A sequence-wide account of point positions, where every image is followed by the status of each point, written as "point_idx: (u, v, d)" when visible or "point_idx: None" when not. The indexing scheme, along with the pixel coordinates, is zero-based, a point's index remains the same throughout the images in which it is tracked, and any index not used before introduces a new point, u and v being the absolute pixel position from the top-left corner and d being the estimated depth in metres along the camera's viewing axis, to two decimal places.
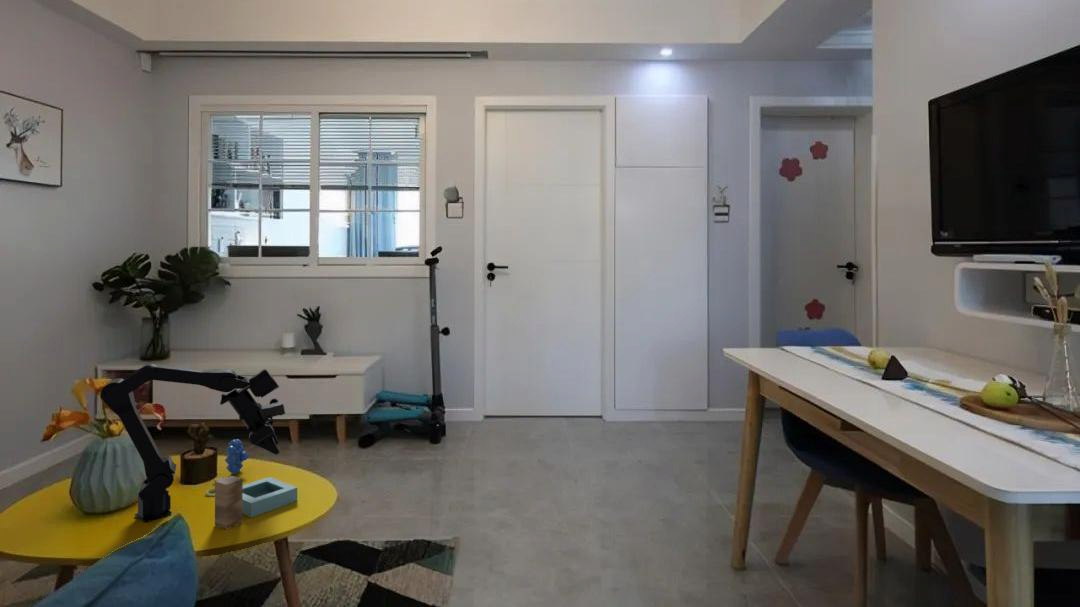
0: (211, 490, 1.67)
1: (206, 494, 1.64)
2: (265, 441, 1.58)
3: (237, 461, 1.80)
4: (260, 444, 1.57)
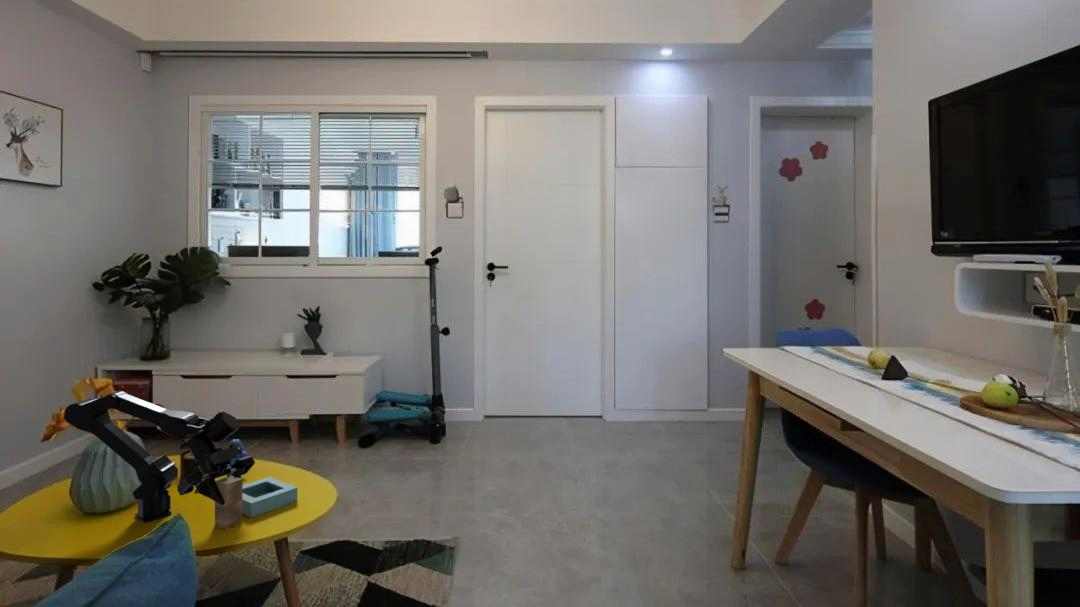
0: None
1: None
2: (208, 489, 1.44)
3: None
4: (203, 492, 1.44)
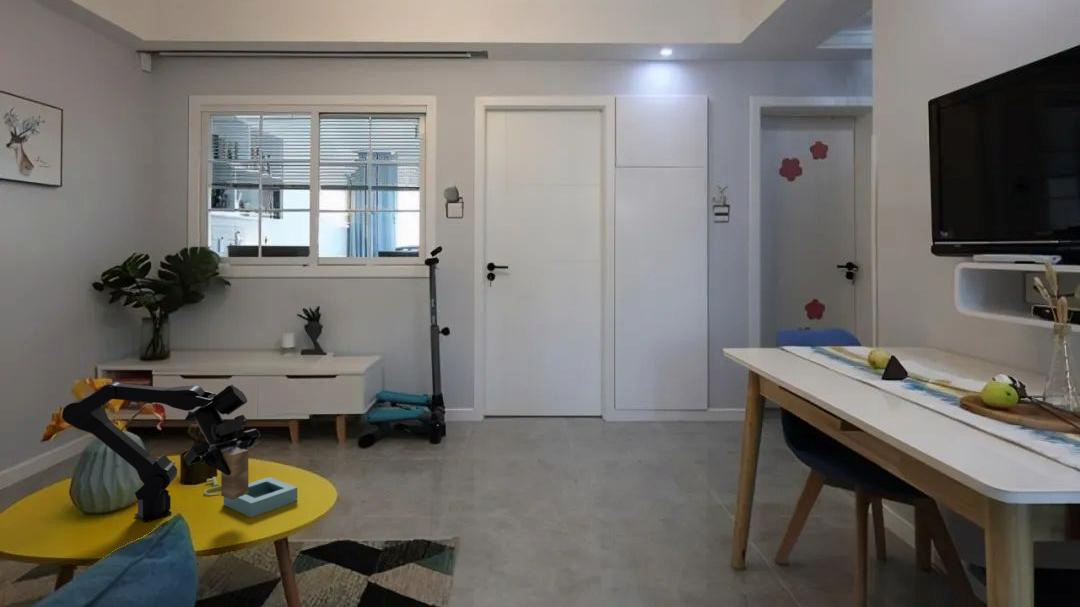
0: (208, 490, 1.67)
1: (205, 494, 1.65)
2: (215, 460, 1.46)
3: None
4: (210, 463, 1.46)
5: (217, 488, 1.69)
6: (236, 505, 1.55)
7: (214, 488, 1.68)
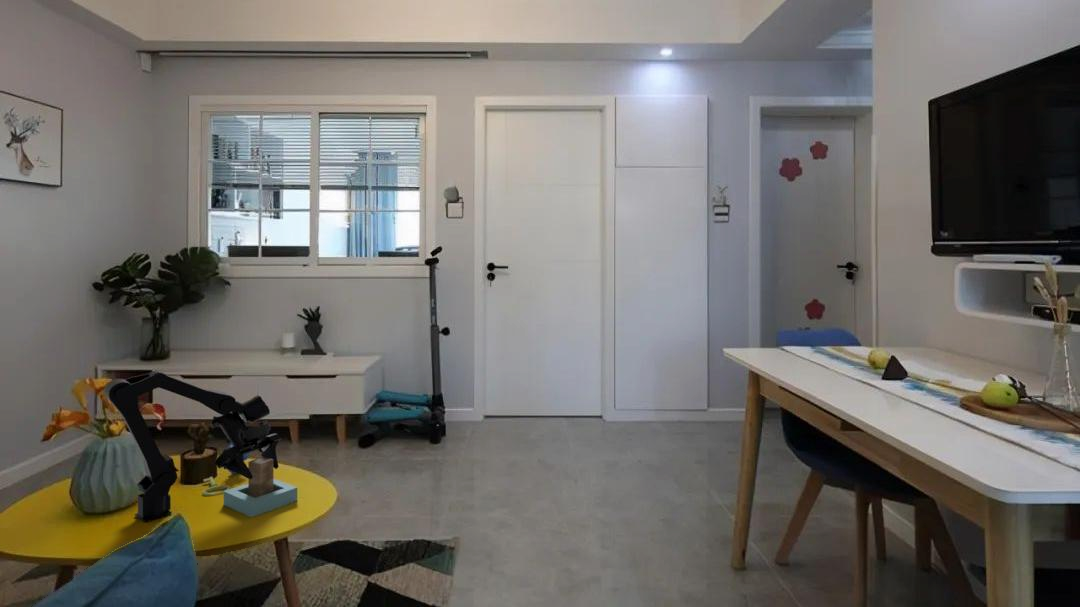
0: (207, 490, 1.67)
1: (204, 494, 1.65)
2: (236, 465, 1.56)
3: None
4: (231, 468, 1.56)
5: (216, 488, 1.69)
6: (236, 505, 1.55)
7: (213, 488, 1.68)
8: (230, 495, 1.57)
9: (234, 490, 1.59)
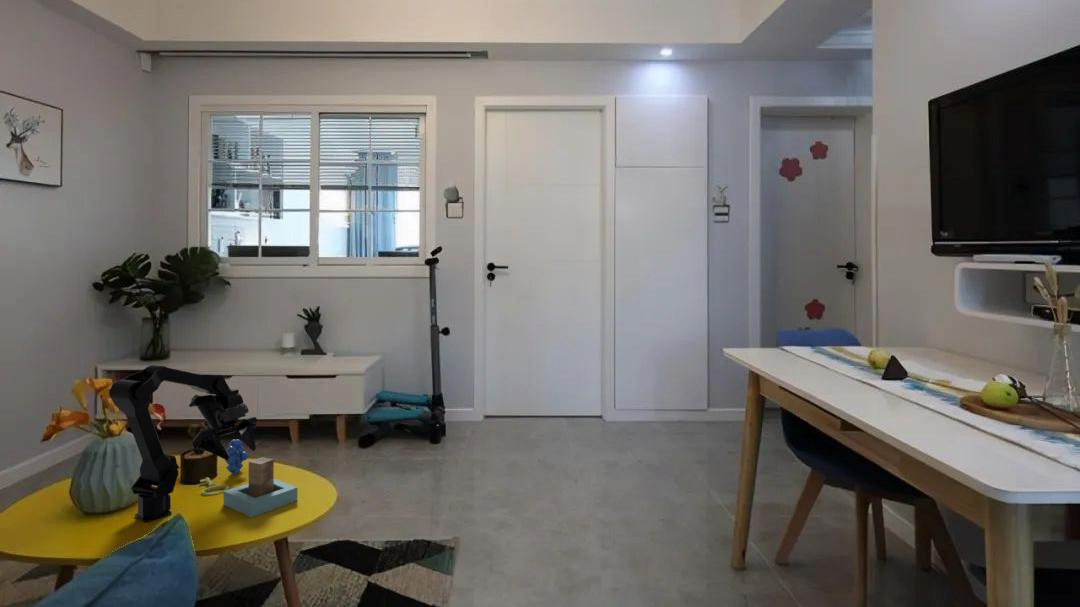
0: (205, 490, 1.67)
1: (203, 494, 1.65)
2: (213, 446, 1.59)
3: (237, 461, 1.80)
4: (208, 449, 1.58)
5: (214, 488, 1.69)
6: (236, 505, 1.55)
7: (211, 488, 1.68)
8: (230, 495, 1.57)
9: (234, 490, 1.59)
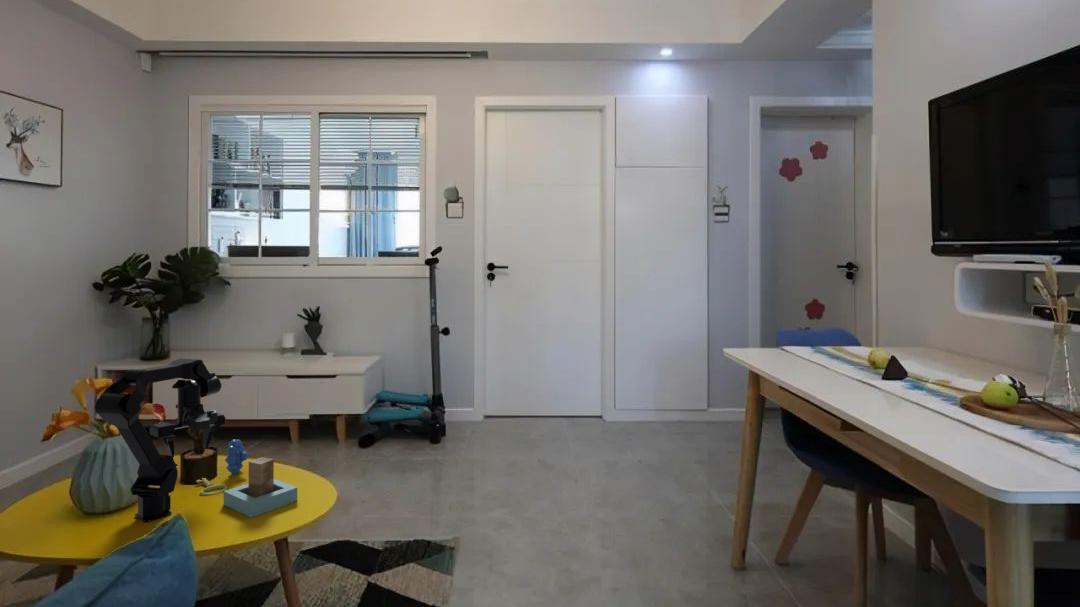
0: (204, 490, 1.67)
1: (202, 494, 1.65)
2: (166, 439, 1.58)
3: (237, 461, 1.80)
4: None
5: (212, 487, 1.69)
6: (236, 505, 1.55)
7: (209, 488, 1.68)
8: (230, 495, 1.57)
9: (234, 490, 1.59)
